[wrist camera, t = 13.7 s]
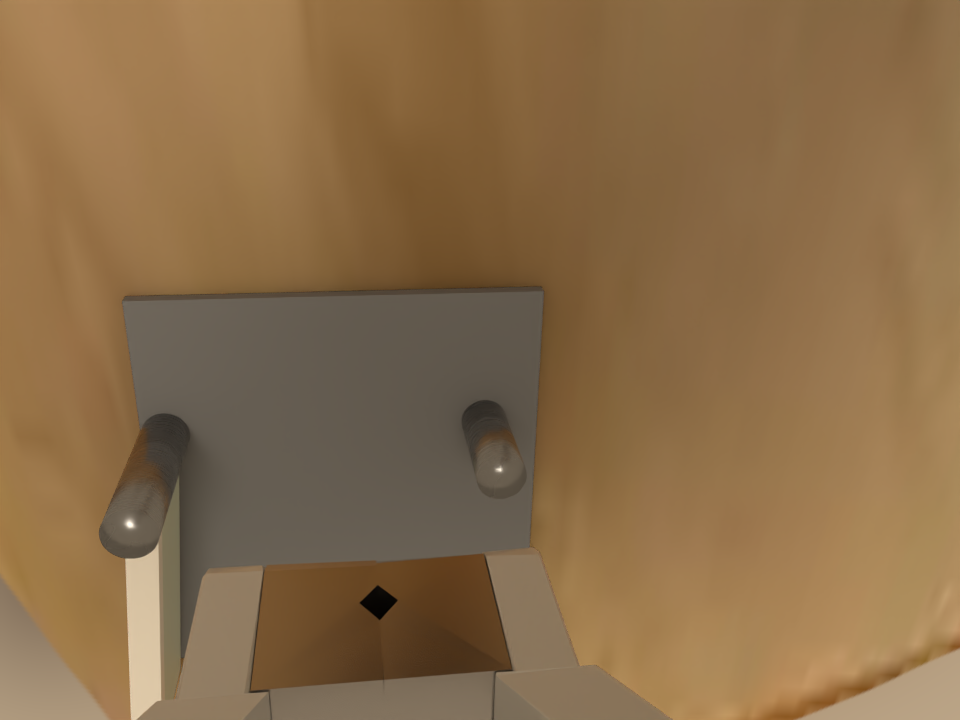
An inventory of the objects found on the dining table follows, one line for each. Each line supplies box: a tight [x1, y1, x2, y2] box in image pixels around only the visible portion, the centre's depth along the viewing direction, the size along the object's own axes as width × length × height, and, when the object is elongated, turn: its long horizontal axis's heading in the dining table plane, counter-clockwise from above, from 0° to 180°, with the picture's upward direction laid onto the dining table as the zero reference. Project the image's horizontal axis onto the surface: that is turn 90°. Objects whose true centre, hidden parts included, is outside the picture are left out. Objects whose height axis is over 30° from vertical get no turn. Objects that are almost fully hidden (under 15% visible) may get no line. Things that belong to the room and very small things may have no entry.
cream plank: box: [125, 476, 181, 720], centre depth 38 cm, size 11×1×5 cm, turn 173°
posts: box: [99, 400, 527, 559], centre depth 36 cm, size 16×2×8 cm, turn 88°
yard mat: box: [122, 287, 544, 658], centre depth 41 cm, size 17×18×1 cm
